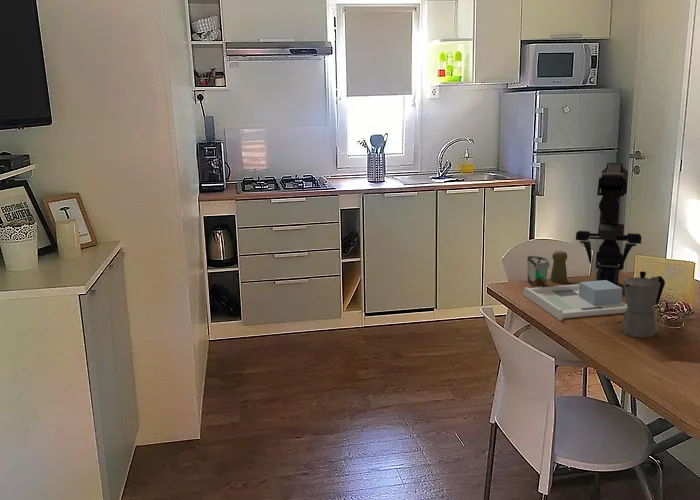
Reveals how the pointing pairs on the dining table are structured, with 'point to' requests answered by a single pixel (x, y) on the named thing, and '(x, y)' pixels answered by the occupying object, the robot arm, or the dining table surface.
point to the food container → (537, 271)
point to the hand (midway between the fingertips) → (606, 264)
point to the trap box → (568, 302)
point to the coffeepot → (641, 305)
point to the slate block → (600, 292)
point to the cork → (559, 267)
